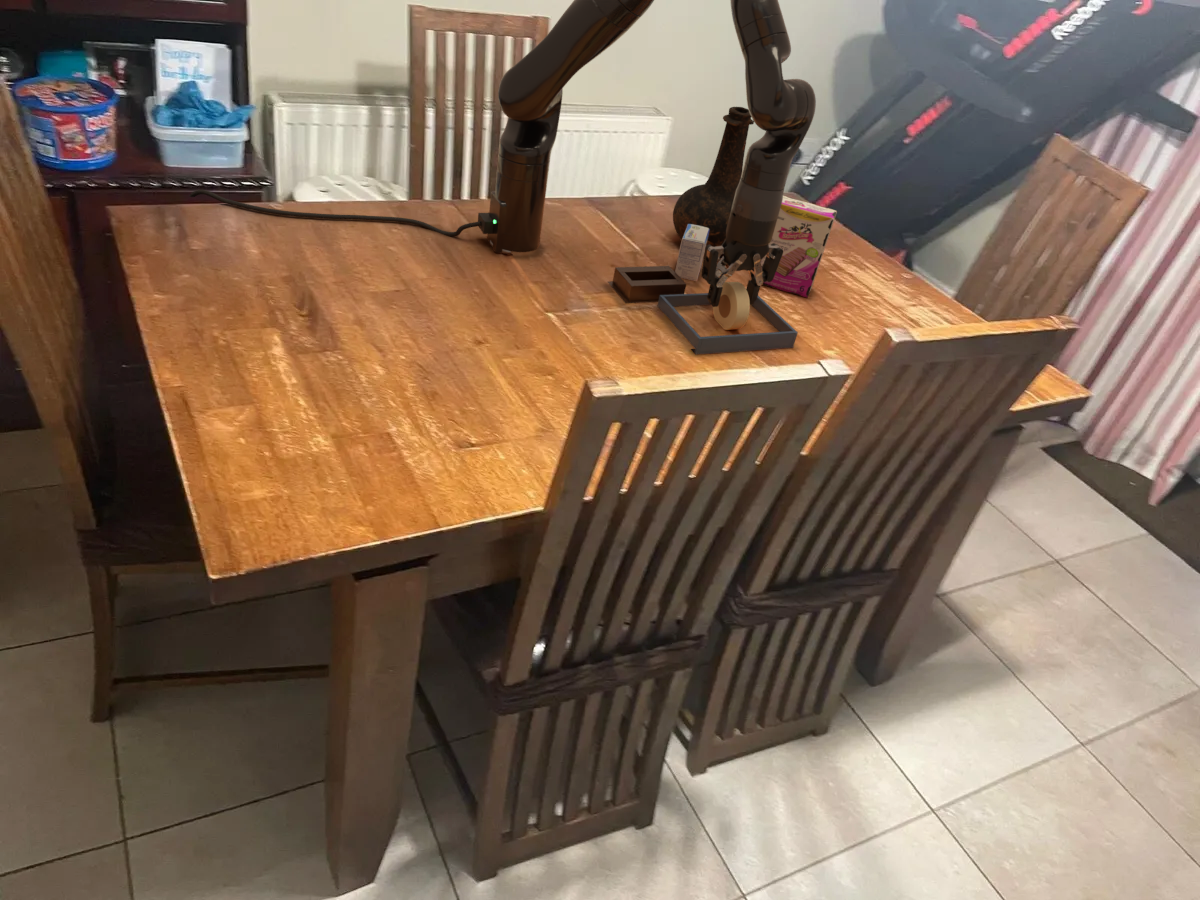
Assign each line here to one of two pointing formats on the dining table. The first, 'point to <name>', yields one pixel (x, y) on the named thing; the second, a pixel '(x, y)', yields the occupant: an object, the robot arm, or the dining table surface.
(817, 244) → the candy bar box
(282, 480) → the dining table surface
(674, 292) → the holder
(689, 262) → the medicine box
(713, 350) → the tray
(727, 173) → the glass bottle
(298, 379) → the dining table surface
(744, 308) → the tape roll
